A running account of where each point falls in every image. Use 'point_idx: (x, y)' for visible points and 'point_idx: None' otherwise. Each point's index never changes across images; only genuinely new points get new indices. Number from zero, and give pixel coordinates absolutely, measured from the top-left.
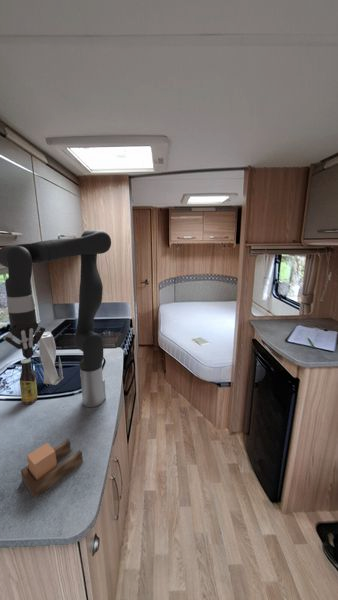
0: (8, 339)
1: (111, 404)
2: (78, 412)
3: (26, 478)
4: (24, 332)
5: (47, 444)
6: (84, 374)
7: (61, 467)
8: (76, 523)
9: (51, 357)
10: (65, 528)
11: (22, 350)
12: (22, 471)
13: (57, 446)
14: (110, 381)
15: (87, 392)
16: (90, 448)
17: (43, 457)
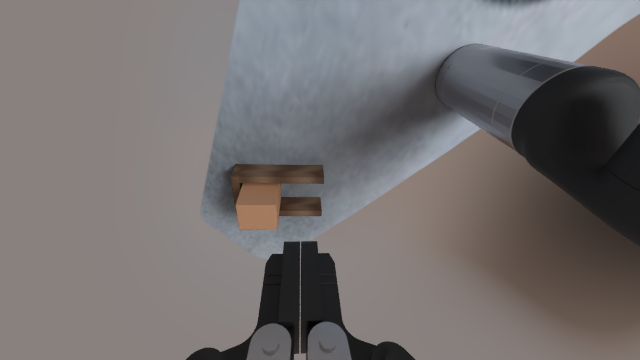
0: None
1: (468, 129)
2: (408, 86)
3: (234, 195)
4: None
5: (274, 209)
6: (501, 125)
7: (283, 215)
8: (266, 253)
9: None
10: (255, 250)
11: (260, 314)
12: (232, 181)
13: (300, 178)
14: (581, 32)
15: (460, 106)
16: (345, 191)
17: (256, 227)
